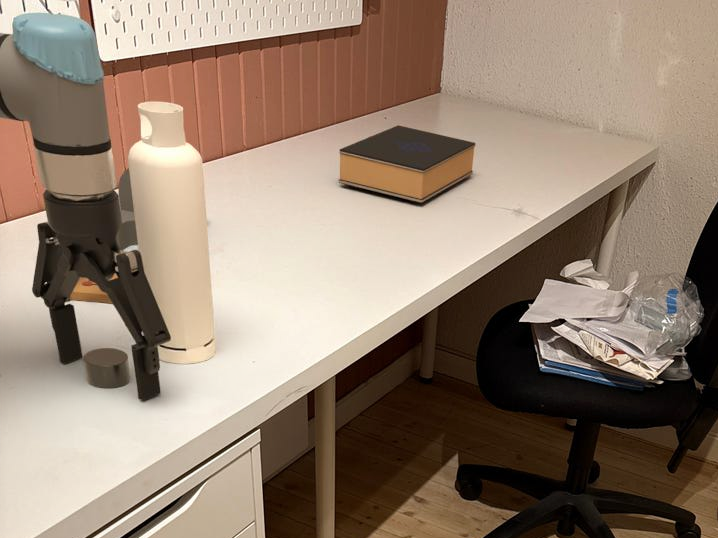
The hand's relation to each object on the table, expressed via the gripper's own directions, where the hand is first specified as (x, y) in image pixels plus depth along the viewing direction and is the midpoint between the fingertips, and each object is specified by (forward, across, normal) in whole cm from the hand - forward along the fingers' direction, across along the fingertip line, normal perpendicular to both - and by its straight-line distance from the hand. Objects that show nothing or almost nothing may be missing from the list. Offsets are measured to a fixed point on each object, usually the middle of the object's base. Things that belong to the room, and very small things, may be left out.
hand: (109, 377), depth 115 cm
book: (0, +26, -96) cm, 99 cm away
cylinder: (0, 0, 0) cm, 0 cm away
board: (0, +21, -22) cm, 30 cm away
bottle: (0, 0, -12) cm, 12 cm away
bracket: (0, +33, -38) cm, 50 cm away
